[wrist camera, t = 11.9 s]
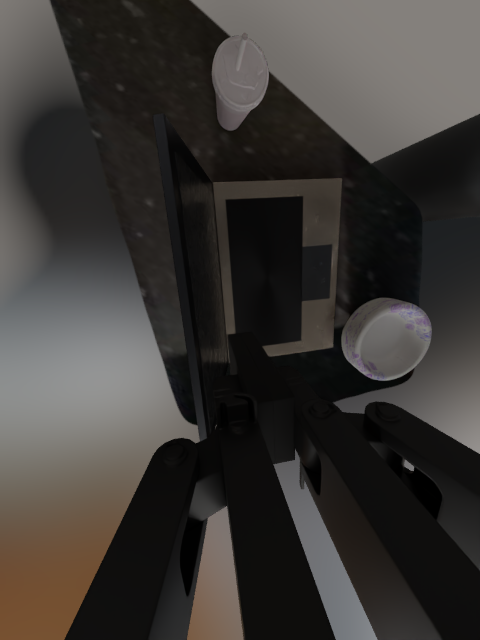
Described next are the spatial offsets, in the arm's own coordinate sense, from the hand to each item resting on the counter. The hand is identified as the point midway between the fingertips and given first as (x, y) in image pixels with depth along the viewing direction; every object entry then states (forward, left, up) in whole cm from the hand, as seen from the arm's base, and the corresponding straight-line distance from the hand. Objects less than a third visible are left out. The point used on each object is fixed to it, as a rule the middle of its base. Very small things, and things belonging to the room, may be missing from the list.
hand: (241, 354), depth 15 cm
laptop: (-12, 0, -30) cm, 32 cm away
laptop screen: (+1, 0, -18) cm, 18 cm away
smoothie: (-5, -24, -30) cm, 39 cm away
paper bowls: (-31, +13, -30) cm, 45 cm away
